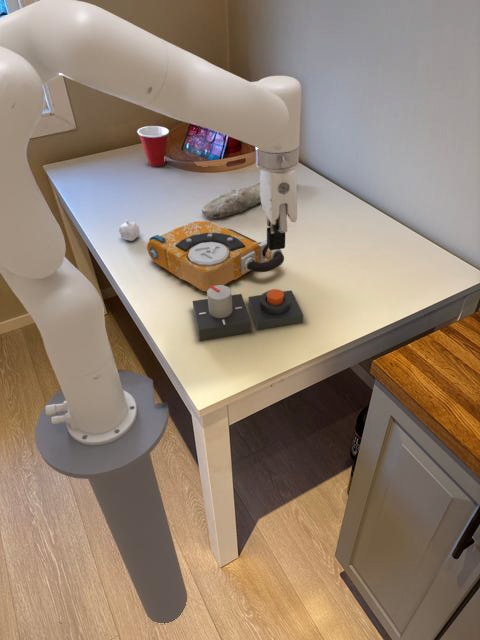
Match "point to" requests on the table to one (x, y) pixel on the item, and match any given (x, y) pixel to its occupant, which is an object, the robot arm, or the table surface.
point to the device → (210, 254)
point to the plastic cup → (154, 143)
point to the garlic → (129, 230)
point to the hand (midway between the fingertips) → (275, 246)
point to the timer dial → (219, 301)
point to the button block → (275, 311)
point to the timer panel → (221, 320)
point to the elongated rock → (232, 202)
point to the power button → (275, 297)
